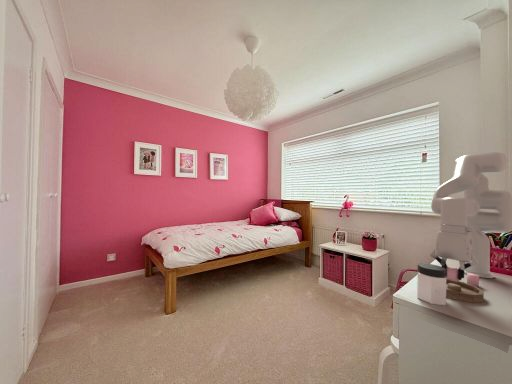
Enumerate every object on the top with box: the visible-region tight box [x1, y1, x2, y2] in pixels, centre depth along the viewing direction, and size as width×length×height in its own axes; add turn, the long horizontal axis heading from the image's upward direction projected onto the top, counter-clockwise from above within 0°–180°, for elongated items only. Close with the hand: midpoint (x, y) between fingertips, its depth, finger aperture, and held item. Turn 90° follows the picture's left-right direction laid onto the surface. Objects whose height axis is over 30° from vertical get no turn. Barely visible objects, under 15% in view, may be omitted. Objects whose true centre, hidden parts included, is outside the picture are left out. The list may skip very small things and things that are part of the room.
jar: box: [416, 262, 447, 306], centre depth 76 cm, size 9×8×12 cm
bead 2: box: [466, 273, 480, 288], centre depth 91 cm, size 4×4×4 cm
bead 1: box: [446, 265, 460, 282], centre depth 80 cm, size 4×4×4 cm
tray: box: [446, 279, 485, 304], centre depth 83 cm, size 16×16×3 cm
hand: (452, 277), depth 80 cm, fingers closed on bead 1, 3 cm apart
